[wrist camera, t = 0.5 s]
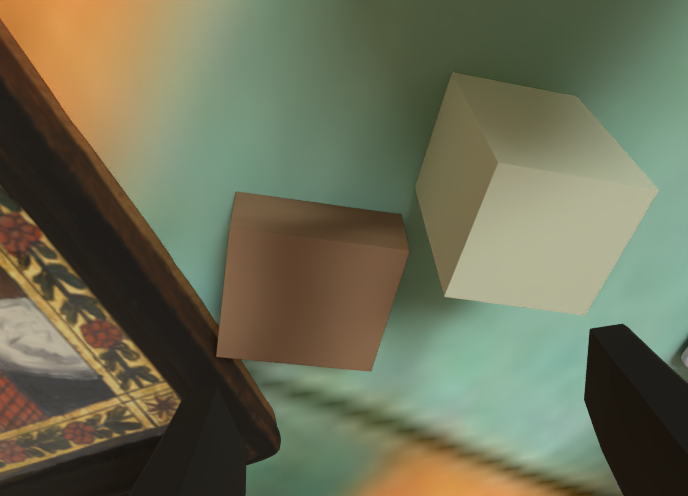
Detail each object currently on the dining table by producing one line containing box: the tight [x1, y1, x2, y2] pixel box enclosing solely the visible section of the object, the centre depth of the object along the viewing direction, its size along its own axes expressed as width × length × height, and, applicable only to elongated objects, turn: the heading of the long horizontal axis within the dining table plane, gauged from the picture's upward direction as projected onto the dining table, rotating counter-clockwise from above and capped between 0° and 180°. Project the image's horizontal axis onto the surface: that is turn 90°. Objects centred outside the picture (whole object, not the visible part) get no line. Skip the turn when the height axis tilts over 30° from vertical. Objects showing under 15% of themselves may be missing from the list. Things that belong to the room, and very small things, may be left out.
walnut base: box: [216, 192, 410, 372], centre depth 22 cm, size 6×6×2 cm
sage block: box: [415, 72, 659, 315], centre depth 18 cm, size 4×4×6 cm
